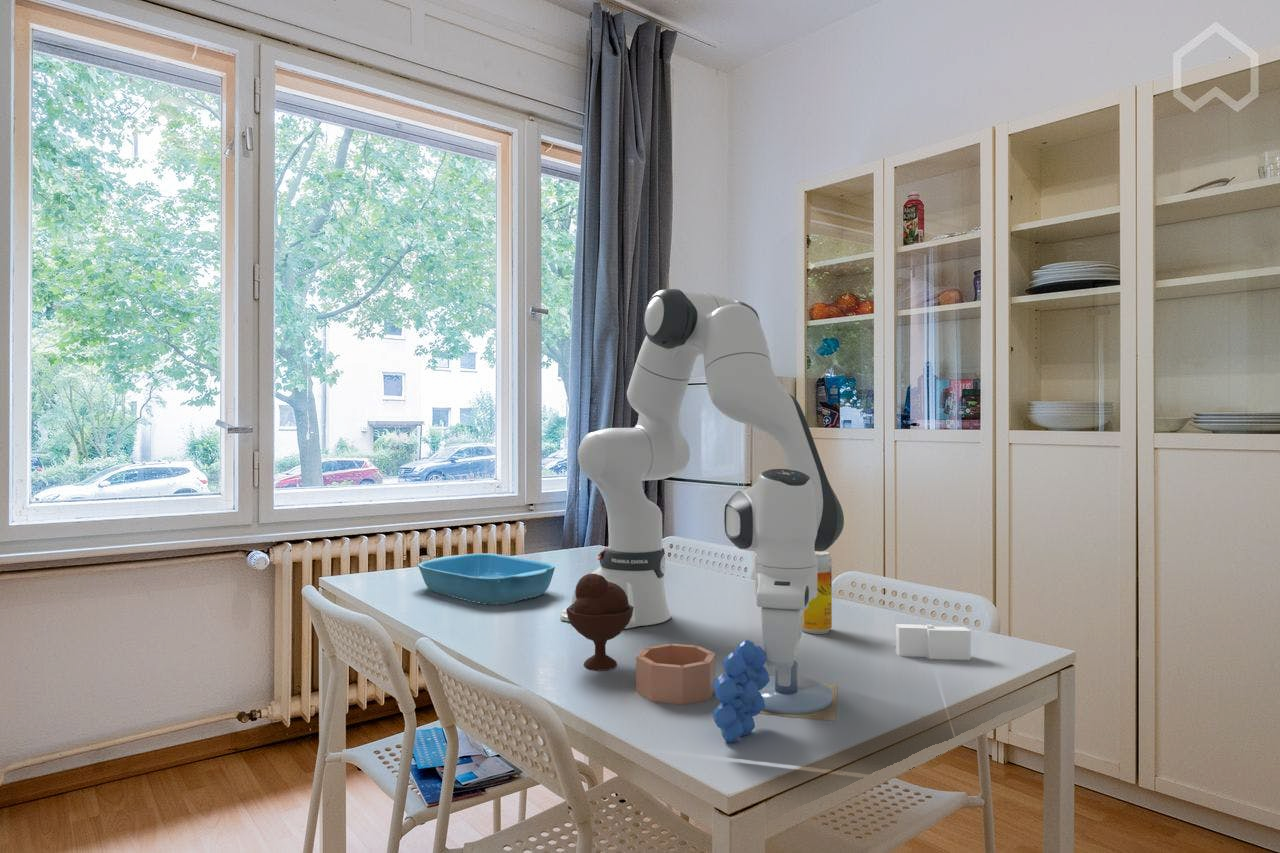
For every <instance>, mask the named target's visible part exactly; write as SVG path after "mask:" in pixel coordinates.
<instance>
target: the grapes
mask: <svg viewBox="0 0 1280 853" xmlns="http://www.w3.org/2000/svg"><path fill="white" fill-rule="evenodd" d="M766 661H767V658H766V655H765V652H764V648H763V647H761V646H759V645H755V643H754V642H753V641H751V640H750V639H745V640H744V639H743V640H742V641H741V642H739V643H738V645H737V646H736V647H735V649H734V651H732V652H730V653H729V654H728V655H727V656H726V657H725V658H724V659H723V661H722V667H723V671H724V672H723V673H721V674H719V675H718V676H717V677H716V679H715V681H714V682H713V688H714V692H713V693H714V696H715V697H716V699H717V701H718V702H719V704H718V705H717V706H716V707H715V709H714V710H713V711H712V717H713V721H714V723H715V725H716V726H717V728H719V729H720V732H721V736H722V737H723V739H724V741H725V742H727V743H729V744H730V743H735V742H736V741H738V739H739V738H740V737H744V736H749V735H750V734H751V733H752V731H753V730H754V729H755V727H756V726H755V725H756V724H755V719H754V717H757V716H758V715H759V713H760V712H761V711H762V710H763V709H764V707H765V703H764V699H763V697H762V695H761V693H760V692H759V691H758V690H761V689H763V688H764V687H765V686H766V685H767V684H768V682H769V681H770V679H769V676H770V675H769V672H768V670H767V669H766V668H765V667H764V665H765V664H767V663H766Z"/></svg>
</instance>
